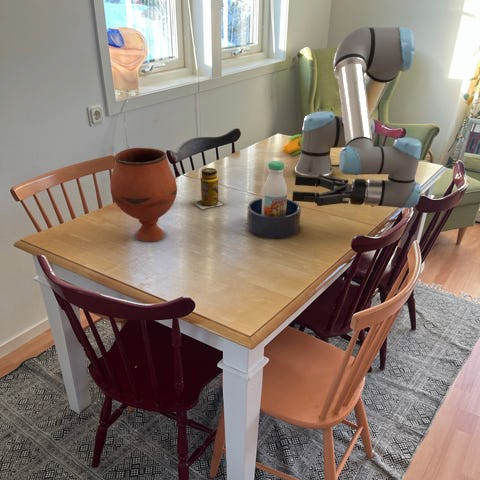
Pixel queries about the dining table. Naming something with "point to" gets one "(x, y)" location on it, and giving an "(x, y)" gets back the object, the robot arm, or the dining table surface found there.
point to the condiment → (208, 189)
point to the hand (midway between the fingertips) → (293, 187)
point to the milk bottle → (274, 191)
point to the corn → (293, 145)
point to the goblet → (144, 188)
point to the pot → (273, 221)
